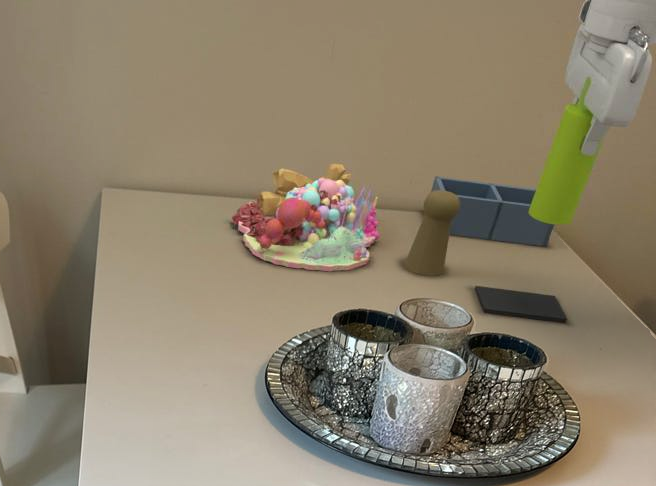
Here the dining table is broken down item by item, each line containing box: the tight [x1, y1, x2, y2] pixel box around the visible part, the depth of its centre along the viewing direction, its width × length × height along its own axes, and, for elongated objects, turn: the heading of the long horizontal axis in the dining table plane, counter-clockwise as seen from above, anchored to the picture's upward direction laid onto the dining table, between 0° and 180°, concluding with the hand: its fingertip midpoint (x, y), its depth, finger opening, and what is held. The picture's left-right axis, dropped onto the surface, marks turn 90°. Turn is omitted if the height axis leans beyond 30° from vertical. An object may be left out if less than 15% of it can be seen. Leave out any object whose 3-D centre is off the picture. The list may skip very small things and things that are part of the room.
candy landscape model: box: [231, 163, 380, 272], centre depth 142 cm, size 25×24×9 cm
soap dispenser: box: [528, 52, 605, 226], centre depth 118 cm, size 6×7×20 cm
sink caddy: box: [430, 175, 555, 248], centre depth 154 cm, size 19×9×6 cm, turn 86°
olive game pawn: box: [404, 190, 460, 277], centre depth 137 cm, size 6×6×11 cm
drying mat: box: [474, 285, 568, 324], centre depth 134 cm, size 12×8×1 cm, turn 86°
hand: (579, 145), depth 119 cm, fingers closed on soap dispenser, 6 cm apart
